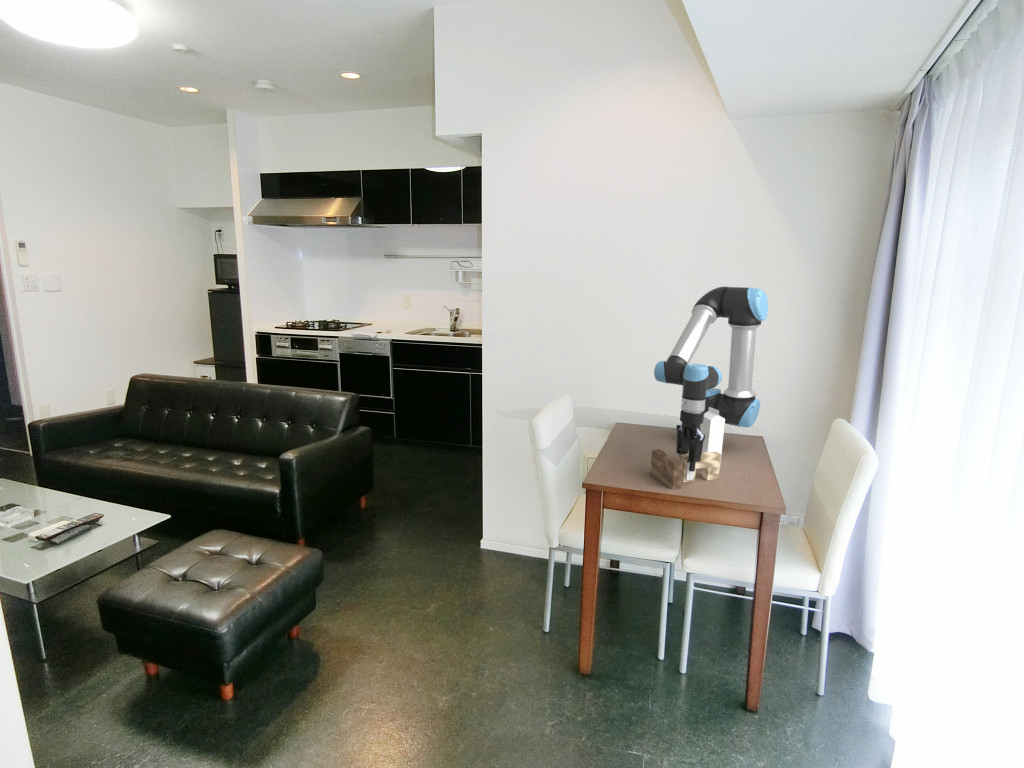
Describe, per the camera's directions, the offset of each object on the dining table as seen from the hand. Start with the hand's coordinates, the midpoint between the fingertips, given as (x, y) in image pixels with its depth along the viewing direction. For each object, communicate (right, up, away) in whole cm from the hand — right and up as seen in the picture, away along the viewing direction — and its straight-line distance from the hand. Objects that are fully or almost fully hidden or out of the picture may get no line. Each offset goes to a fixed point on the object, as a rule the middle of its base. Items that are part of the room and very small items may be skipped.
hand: (686, 477), depth 200 cm
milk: (+12, +1, +14) cm, 19 cm away
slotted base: (-7, -1, -1) cm, 8 cm away
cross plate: (+5, -1, +2) cm, 5 cm away
